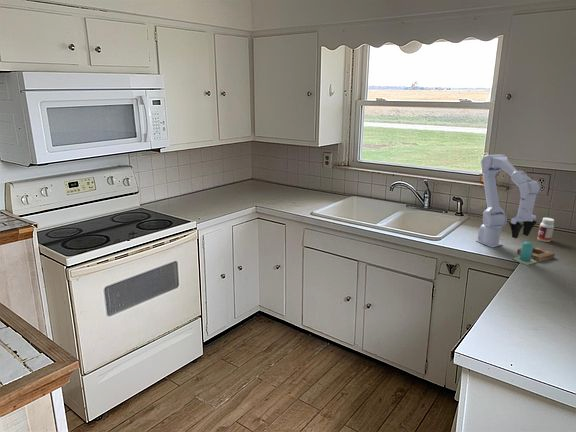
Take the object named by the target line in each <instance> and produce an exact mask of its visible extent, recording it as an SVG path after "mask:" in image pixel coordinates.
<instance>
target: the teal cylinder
mask: <svg viewBox="0 0 576 432" xmlns="http://www.w3.org/2000/svg"><path fill="white" fill-rule="evenodd" d="M533 246H535V244H534V243H533V242H531V241H527V240H526V241H525V240H524V241H522V245H521V248H522V249H521V253H520V254H519V256H520V258H519V259H520V260H522V261H525V262H529V261H530V260H531V255H532V251H533Z"/></svg>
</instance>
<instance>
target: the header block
mask: <svg viewBox="0 0 576 432" xmlns="http://www.w3.org/2000/svg"><path fill="white" fill-rule="evenodd" d="M521 249H522V247H521V248H517V252H516V253H517V254H519V255H520V253H521ZM555 255H556V253H554V252H551V251H548V250H546V249H544V248H540V247H538V246H535V245H534V246H533V251H532V255H531V259H533V260H535V261H537V263H538V262H543V261H547V260H550V259H551V260H552V259H554V258H555Z"/></svg>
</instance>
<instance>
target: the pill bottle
mask: <svg viewBox="0 0 576 432" xmlns="http://www.w3.org/2000/svg"><path fill="white" fill-rule="evenodd" d="M554 223H555V219H554V218H551V217H543V218H542V221H541V222H540V224H539V227H538V234H537V240H538V241H540V242H545V243H547V242H548V243H550V242H551V240H552V239H553V238H552V237H553V233H554V228H555V225H554Z"/></svg>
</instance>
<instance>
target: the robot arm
mask: <svg viewBox="0 0 576 432" xmlns="http://www.w3.org/2000/svg"><path fill="white" fill-rule="evenodd" d="M480 164H481V171H482V172H481V173H482V180H483V187H484V193H485V201H486V209H485V210H484V211H483V213H482V223H483V224H481V225H480V227H479V229H478V235H477V239H476V241H475V242H478V243H480V244H483V245H485V246H487V247H489V248H496V247H500V246H503V243H502V242H500V238H501V233H502V229H503V228H504V226H506V225H507V222H508V219H507V215H506V213H505V209H503V208H502V207H501V206H500V202H499V201H500V200H499V194H498V188H497V181H496V174H497V173H498V172H500V171H501V170H502V171H503V172H505V173H506V174H507V175H509V176H510V180H511V182H513V183H514V184H515V186H517V187H518V189H519V192H520V194H519V197H520V198H519V203H518V204H519V205H518V209H517V214H516V216H514V217H513V218H511V219H510V221H509V223H508V224H509V226H510V230H511V238H513V239H518V238H519V235H520V232H521V229H522V235H523V236H526V237H528V236H529V235H530V233H531V231H532V229H533V228H534V226H535V225H536V224H537V220H536V219H537V215H535V214H533V211H534V208H535V203H536V198H537V195H538V194H539V193H540V192H541V190H542V185H541V183H540V182H539V180H534V179H532V178H531V177H529V176H528V175H527V174H526V172H525V171H523V170H517V169H516V168H515V166H513V164H512V163H511V162H510V161H509V157H507V156H506V155H505V154H503V153H502V154H501V153H500V154H485V155H484V156H483V157H482V158H481V160H480ZM521 223H523V224H521Z"/></svg>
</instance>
